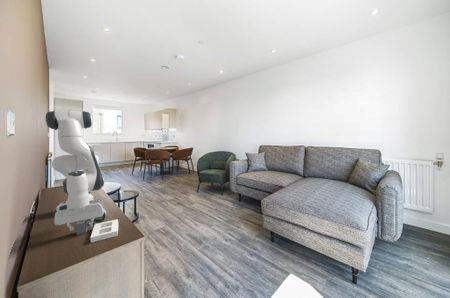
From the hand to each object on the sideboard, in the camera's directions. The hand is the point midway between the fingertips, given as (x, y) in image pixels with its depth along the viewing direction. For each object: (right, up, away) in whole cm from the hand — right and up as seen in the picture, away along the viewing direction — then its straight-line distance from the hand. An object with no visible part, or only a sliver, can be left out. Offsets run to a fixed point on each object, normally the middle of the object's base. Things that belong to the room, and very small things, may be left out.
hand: (81, 228), depth 98 cm
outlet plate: (+13, -2, -1) cm, 13 cm away
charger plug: (0, -2, 0) cm, 2 cm away
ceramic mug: (-1, -2, +13) cm, 13 cm away
